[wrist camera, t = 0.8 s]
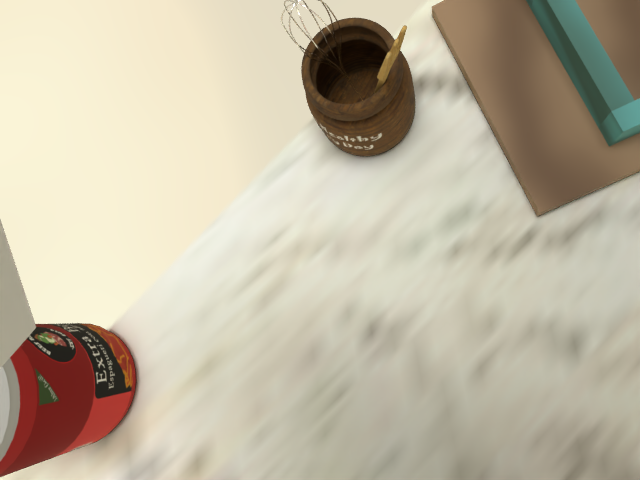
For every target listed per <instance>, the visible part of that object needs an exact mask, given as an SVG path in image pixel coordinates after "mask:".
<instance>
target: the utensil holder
mask: <svg viewBox="0 0 640 480" xmlns="http://www.w3.org/2000/svg"><path fill="white" fill-rule="evenodd" d="M286 1H292V0H286ZM286 1H285V2H286ZM298 1H301V0H298ZM298 1H297V0H295V1H292V2H293V3H292V4H294V5H295V4H296V3H298ZM302 1H303V2H304V0H302ZM318 1H321V2H322V3H323V5H324V4H325V5H326V3H324V2H323V1H322V0H318ZM285 2H284V6H285ZM304 3H305V2H304ZM292 4H290V5H289V6H291V5H292ZM298 4H300V3H298ZM294 5H293V7H294ZM300 5H302V4H300ZM305 5H306V3H305ZM325 5H324V6H325ZM289 6H287V7H286V6H285V10H287V8H288V7H289ZM302 6H304V5H302ZM306 6H307V5H306ZM306 6H304V7H306ZM326 6H327V5H326ZM293 7H292V9H293ZM327 7H328V6H327ZM296 8H297V5H296ZM306 8H307V9H309V8H308V6H307V7H306ZM325 8H326V7H325ZM328 8H329V7H328ZM292 9H291V12H292ZM285 10H284V11H285ZM326 10H327V8H326ZM329 10H330V8H329ZM284 11H283V13H284ZM297 11H298V8H297ZM309 11H310V12H311V11H312V10H311V9H309ZM330 11H331V10H330ZM287 12H288V11H287ZM291 12H290V13H289V12H288V13H289V15H290V17H291V18H292V16H291ZM312 12H313V11H312ZM312 12H311V14H312ZM327 12H328V10H327ZM283 13H282V16H283ZM313 13H314V14H315V15H317V14H316V13H315V12H313ZM331 13H332V11H331ZM298 14H299V11H298ZM328 14H329V12H328ZM332 14H333V13H332ZM299 16H300V14H299ZM312 16H313V14H312ZM317 16H318V15H317ZM329 16H330V14H329ZM333 16H334V14H333ZM290 17H289V29H290ZM313 17H314V16H313ZM318 17H319V16H318ZM334 17H335V16H334ZM319 18H320V17H319ZM292 19H293V18H292ZM300 19H301V17H300ZM314 19H315V18H314ZM320 19H321V18H320ZM330 19H331V17H330ZM335 19H336V18H335ZM293 20H294V19H293ZM321 20H322V19H321ZM315 21H316V19H315ZM281 22H282V17H281ZM294 22H295V20H294ZM301 22H302V24H303V21H302V19H301ZM322 22H323V23H324V21H323V20H322ZM295 23H296V22H295ZM316 23H317V21H316ZM324 24H325V23H324ZM282 25H283V23H282ZM296 25H297V26H298V24H297V23H296ZM317 25H318V23H317ZM303 26H304V24H303ZM318 26H319V25H318ZM325 26H326V27H325V28H323V29H322V30H321V29H320V30H321V31H320V32H318V33H317V34H316V36H315V37H314V38H313V39H312V38H311V36H310V35H309V33H308V31H307V30H306V28H305V26H304V28H305V30H306V31H307V33H308V35H309V37H310V38H311V39H310V38H309V37H308V36H307V35H306V34H305V33H304V32H303V30H302V32H303V33H304V34H305V35H306V36H307V37H308V38H309V39H310V40H311V42H310V43H309V45H308V47H307V49H306V50H305V49H304V48H302V47H301V46H299V45H298V44H297V42H296V41H295V39H294V37H293V36H292V37H293V38H292V37H291V36H290V34H289V33H288V32H287V30H286V29H285V27H284V25H283V27H284V29H285V30H286V32H287V33H288V34H289V36H290V37H291V39H292V40H293V39H294V40H293V41H294V42H295V43H296V44H297V45H298V46H299V48H300V47H301V48H302V49H304V50H305V52H304V51H303V50H302V49H301V48H300V49H301V50H302V52H303V53H304V57H303V60H302V80H303V85H304V89H305V92H306V98H307V103H308V106H309V108H310V111H311V113H312V115H313V117H314V118H315V120H316V122H317V123H318V125H319V126H320V128H321V129H322V131H323V132H324V133H325V135H326V136H327V137H328V139H329V140H330V141H331V142H332V143H333V144H334V145H336V146H337V147H338V148H340V149H341V150H343V151H345V152H347V153H350V154H353V155H358V156H372V155H377V154H380V153H383V152H385V151H387V150H389V149H391V148H393V147H394V146H395V145H397V144H398V143H399V142H400V141H401V140H402V139H403V138H404V136H405V135H406V134H407V132H408V130H409V129H410V126H411V124H412V121H413V118H414V113H415V94H414V87H413V81H412V75H411V71H410V68H409V65H408V63H407V61H406V58H405V57H404V55H403V54H402V52H401V51H400V48H401V45H402V42H403V39H404V35H405V32H406V29H407V26H405V25H404V26H403V28H402V29H401V31H400V34H399V36H398V38H397V39H396V40H394V38H393V37H392V36H391V34H390V33H389V32H388V31H387V30H386V29H385V28H384V27H382V26H381V25H379V24H378V23H376V22H373V21H371V20H367V19H362V18H347V19H342V20H339V21H337V19H336V22H334V23H332V20H331V24H330V25H328V26H327V25H326V24H325ZM298 27H299V26H298ZM299 28H300V27H299ZM319 28H320V27H319ZM300 29H301V28H300ZM290 33H291V29H290ZM291 35H292V33H291Z"/></svg>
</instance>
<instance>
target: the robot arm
mask: <svg viewBox="0 0 640 480" xmlns="http://www.w3.org/2000/svg"><path fill="white" fill-rule="evenodd" d="M35 328H36V325H35V322H34V319H33V316H32V313H31V310H30V307H29V304H28V301H27V298H26V295H25V292H24V289H23V286H22V283H21V280H20V277H19V274H18V271H17V268H16V265H15V262H14V259H13V256H12V253H11V250H10V247H9V244H8V241H7V238H6V235H5V232H4V229H3V226H2V223H1V220H0V368H1V367H2V366H3V365H4V364H5V363H6V361H7V360H8V359H9V358H10V357H11V356H12V355H13V353H14V352H15V351H16V350H17V349H18V348H19V347H20V346H21V344H22V343H23V342H24V341H25V340H26V339H27V338H28V336H29V335H30V334H31V333H32V332H33V331H34V330H35Z"/></svg>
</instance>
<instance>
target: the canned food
mask: <svg viewBox="0 0 640 480" xmlns="http://www.w3.org/2000/svg"><path fill="white" fill-rule="evenodd" d="M35 325H36V328H35V330H34V331H33V332H32V333H31V334H30V335H29V336H28V338H27V339H26V340H25V341H24V342H23V343H22V344H21V346H20V347H19V348H18V349H17V350H16V351H15V352H14V353H13V355H12V356H11V357H10V358H9V359H8V360H7V361H6V363H5V364H4V365H3V366H2V367H1V368H0V477H2V476H5V475H7V474H10V473H13V472H15V471H18V470H21V469H24V468H26V467H29V466H32V465H34V464H37V463H40V462H42V461H45V460H48V459H51V458H53V457H56V456H59V455H61V454H64V453H67V452H70V451H72V450H75V449H78V448H80V447H83V446H86V445H89V444H91V443H94V442H96V441H98V440H100V439H101V438H103V437H105V436H106V435H107V434H108V433H109V432H110V431H111V430H112V429H114V428H115V427H116V426H117V425H118V424H119V423H120V421H121V420H122V419H123V417H124V416H125V414H126V413H127V411H128V409H129V407H130V405H131V403H132V399H133V396H134V393H135V385H136V373H135V366H134V362H133V358H132V356H131V354H130V352H129V350H128V348H127V347H126V346H125V344H124V343H123V342H122V340H120V339H119V338H118V337H117V336H116V335H115V334H113V333H111V332H109V331H107V330H106V329H104V328H102V327H100V326H96V325H92V324H80V323H77V324H35Z"/></svg>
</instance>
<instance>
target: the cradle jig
mask: <svg viewBox="0 0 640 480" xmlns="http://www.w3.org/2000/svg"><path fill="white" fill-rule="evenodd" d="M432 16H433V18H434V20H435V22H436V23H437V25H438V27H439V29H440V31H441V33H442V35H443V37H444V39H445V41H446V43H447V45H448V46H449V48H450V50H451V52H452V54H453V56H454V58H455V60H456V62H457V64H458V66H459V67H460V69H461V71H462V73H463V75H464V77H465V79H466V81H467V83H468V85H469V87H470V89H471V90H472V92H473V94H474V96H475V98H476V100H477V102H478V104H479V106H480V108H481V110H482V112H483V113H484V115H485V117H486V119H487V121H488V123H489V125H490V127H491V129H492V131H493V133H494V135H495V136H496V138H497V140H498V142H499V144H500V146H501V148H502V150H503V152H504V154H505V156H506V158H507V159H508V161H509V163H510V165H511V167H512V169H513V171H514V173H515V175H516V177H517V179H518V181H519V182H520V184H521V186H522V188H523V190H524V192H525V194H526V196H527V198H528V200H529V202H530V204H531V205H532V207H533V209H534V211H535V213H536V215H537V216H539V215H542V214H544V213H546V212H549V211H551V210H553V209H555V208H558V207H560V206H562V205H564V204H567V203H569V202H571V201H573V200H576V199H578V198H580V197H582V196H585V195H587V194H589V193H592V192H594V191H596V190H598V189H601V188H603V187H605V186H607V185H610V184H612V183H614V182H616V181H619V180H621V179H623V178H625V177H628V176H630V175H632V174H634V173H637V172H639V171H640V0H444V1H442V2H440V3H438V4H436V5H434V6H432Z"/></svg>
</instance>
